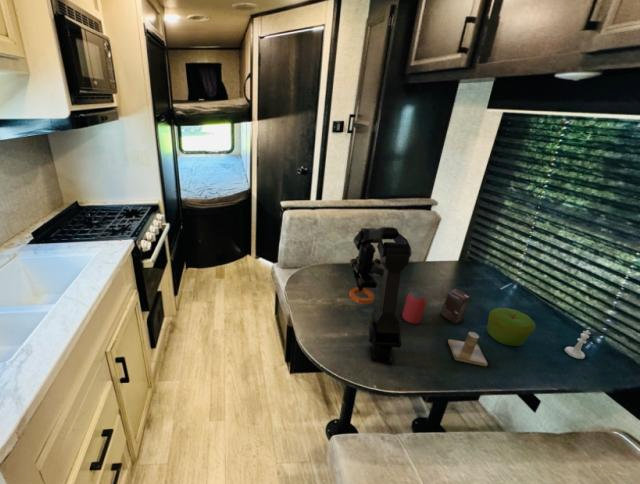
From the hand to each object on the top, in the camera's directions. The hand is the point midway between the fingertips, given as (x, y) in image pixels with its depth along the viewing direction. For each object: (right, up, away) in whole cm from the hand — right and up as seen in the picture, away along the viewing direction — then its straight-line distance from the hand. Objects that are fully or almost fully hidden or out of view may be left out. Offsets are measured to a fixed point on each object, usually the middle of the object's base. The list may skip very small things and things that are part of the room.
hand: (359, 289), depth 132 cm
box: (+33, -10, -9) cm, 35 cm away
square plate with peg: (+27, -17, -25) cm, 41 cm away
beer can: (+17, -10, -9) cm, 22 cm away
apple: (+45, -15, -19) cm, 51 cm away
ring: (0, -3, -3) cm, 4 cm away
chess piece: (+63, -17, -26) cm, 71 cm away
